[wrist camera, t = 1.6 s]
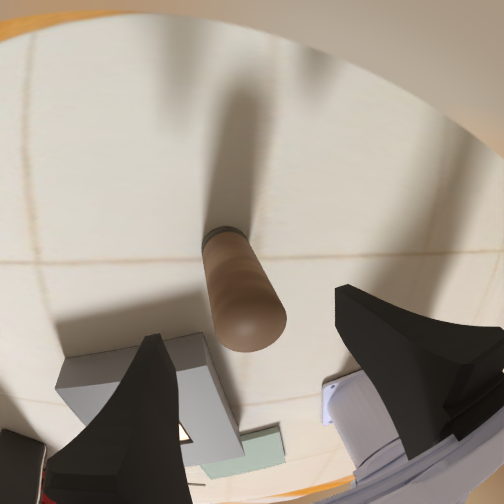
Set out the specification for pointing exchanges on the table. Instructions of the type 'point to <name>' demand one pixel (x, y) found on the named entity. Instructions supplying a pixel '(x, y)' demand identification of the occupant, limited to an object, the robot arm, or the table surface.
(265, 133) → the table surface
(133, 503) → the robot arm
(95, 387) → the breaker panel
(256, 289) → the brown cylinder
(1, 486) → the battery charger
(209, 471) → the pad
